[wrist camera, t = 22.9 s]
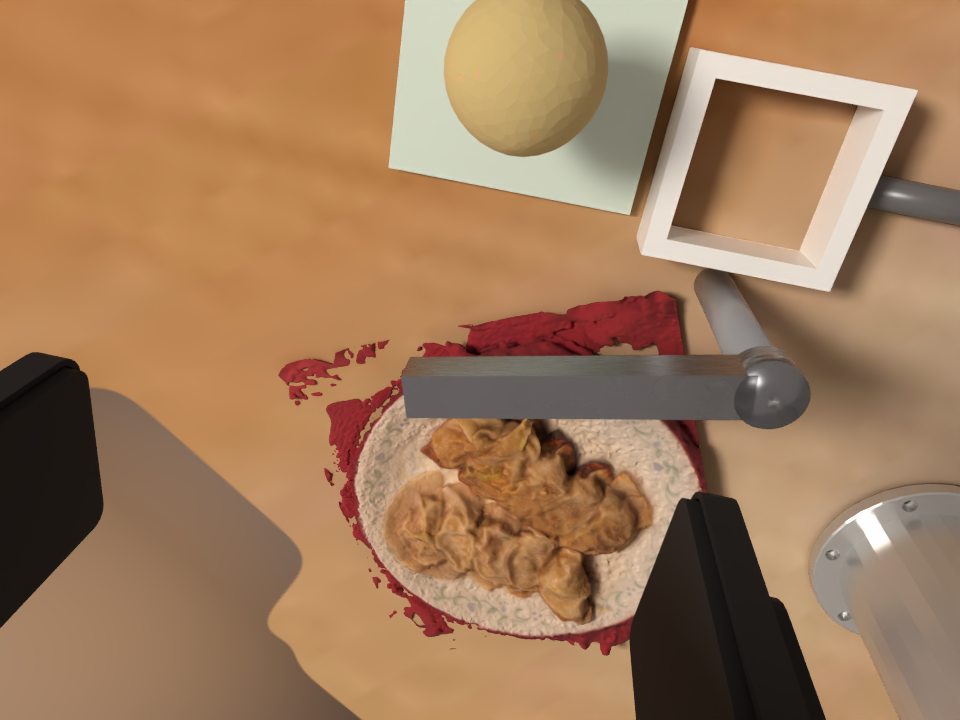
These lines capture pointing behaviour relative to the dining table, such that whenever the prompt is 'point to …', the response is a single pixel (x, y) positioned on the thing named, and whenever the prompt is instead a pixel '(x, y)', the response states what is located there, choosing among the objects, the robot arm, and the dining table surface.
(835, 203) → the white handled box
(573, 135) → the light bulb
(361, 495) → the plate with food
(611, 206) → the mat
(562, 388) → the silver metal bar
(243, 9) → the dining table surface
